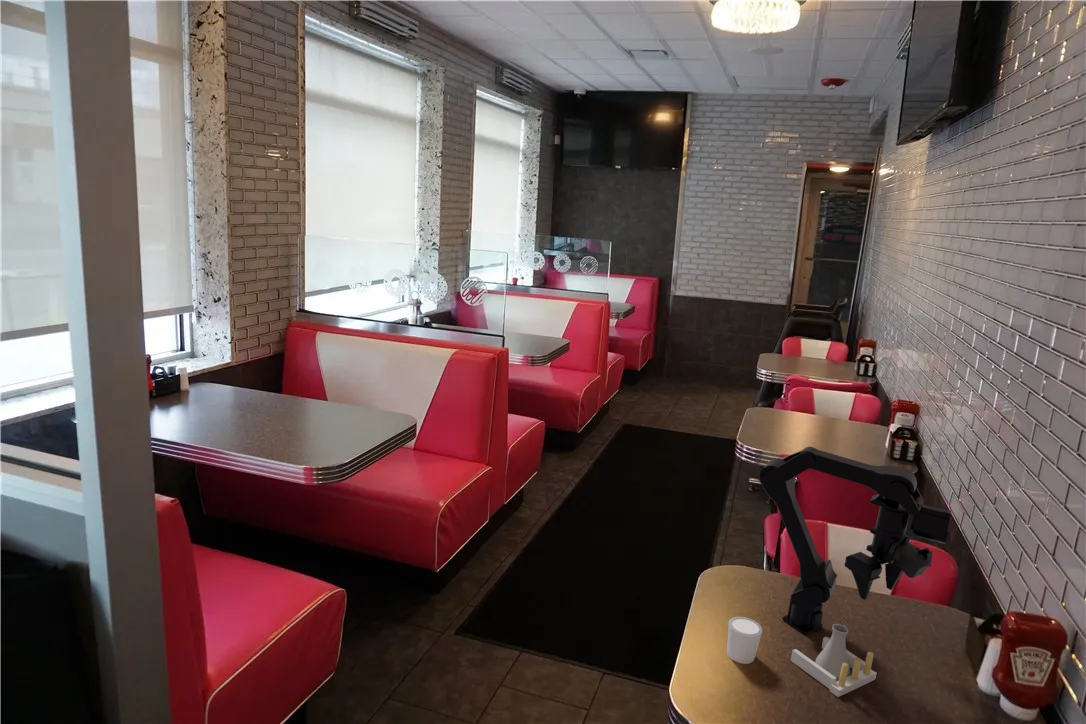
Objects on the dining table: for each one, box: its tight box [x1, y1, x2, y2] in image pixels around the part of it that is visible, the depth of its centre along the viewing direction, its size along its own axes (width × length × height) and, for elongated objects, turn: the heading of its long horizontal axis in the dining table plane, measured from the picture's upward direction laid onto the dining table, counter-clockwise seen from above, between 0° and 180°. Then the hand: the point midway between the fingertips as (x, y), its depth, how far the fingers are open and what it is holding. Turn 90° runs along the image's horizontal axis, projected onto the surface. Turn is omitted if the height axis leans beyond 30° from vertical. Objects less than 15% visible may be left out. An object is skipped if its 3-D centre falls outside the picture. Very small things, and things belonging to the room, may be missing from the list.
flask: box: [814, 623, 851, 682], centre depth 149 cm, size 7×7×10 cm
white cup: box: [726, 616, 763, 665], centre depth 152 cm, size 7×7×7 cm
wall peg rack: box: [790, 636, 878, 698], centre depth 149 cm, size 12×12×6 cm
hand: (876, 593), depth 156 cm, fingers open, 9 cm apart
